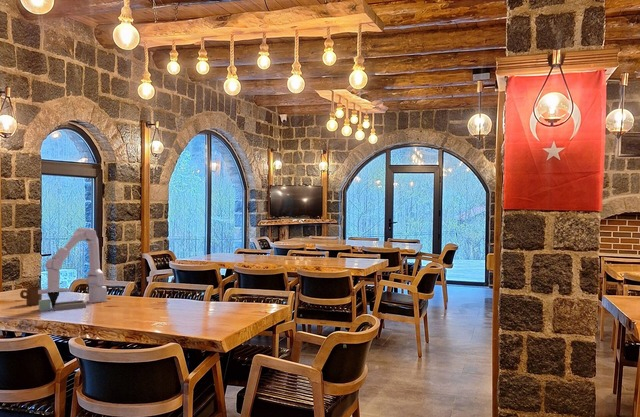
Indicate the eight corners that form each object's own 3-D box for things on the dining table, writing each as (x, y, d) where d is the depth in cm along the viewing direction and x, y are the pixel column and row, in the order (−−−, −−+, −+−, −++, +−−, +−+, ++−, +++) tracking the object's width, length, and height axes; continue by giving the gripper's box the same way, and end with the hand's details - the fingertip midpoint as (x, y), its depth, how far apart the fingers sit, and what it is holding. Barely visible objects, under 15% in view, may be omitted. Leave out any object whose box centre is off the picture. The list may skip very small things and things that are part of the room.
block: (49, 308, 291) (49, 299, 291) (50, 310, 287) (50, 300, 287) (38, 309, 288) (38, 300, 288) (40, 311, 284) (40, 301, 284)
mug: (24, 307, 292) (24, 290, 292) (15, 306, 296) (15, 289, 296) (44, 304, 303) (44, 287, 303) (35, 302, 306) (35, 286, 306)
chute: (82, 304, 303) (82, 300, 303) (86, 307, 294) (86, 303, 294) (51, 307, 294) (51, 302, 294) (54, 310, 286) (54, 305, 286)
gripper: (66, 279, 297) (66, 303, 297) (37, 281, 289) (37, 306, 289) (69, 280, 291) (68, 305, 291) (39, 282, 283) (38, 308, 283)
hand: (53, 306), depth 290 cm, fingers closed
